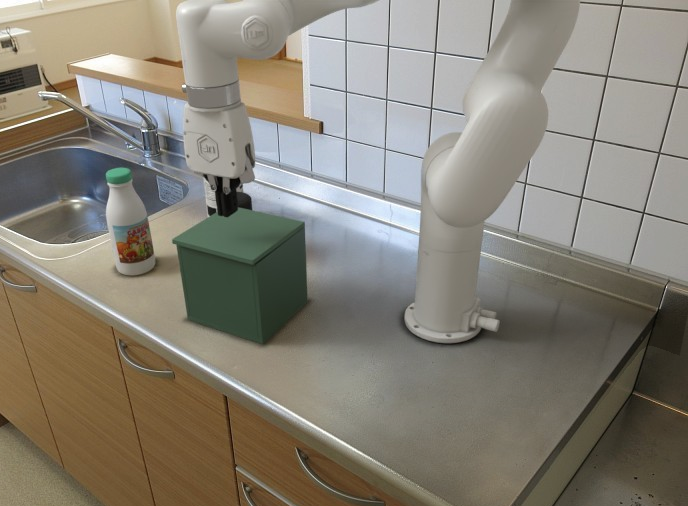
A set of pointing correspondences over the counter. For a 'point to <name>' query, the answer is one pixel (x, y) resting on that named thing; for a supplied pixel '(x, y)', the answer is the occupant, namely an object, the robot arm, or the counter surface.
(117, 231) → the milk bottle
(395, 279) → the counter surface
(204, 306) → the bread box
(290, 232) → the bread box lid
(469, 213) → the robot arm
